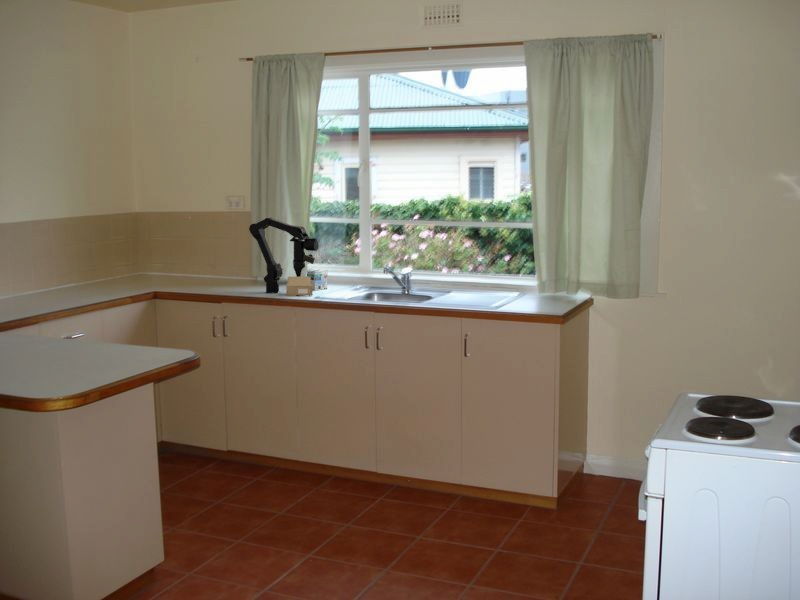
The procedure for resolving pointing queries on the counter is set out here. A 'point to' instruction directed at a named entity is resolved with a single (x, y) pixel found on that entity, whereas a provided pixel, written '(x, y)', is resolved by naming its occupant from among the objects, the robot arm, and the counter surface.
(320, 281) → the light bulb box
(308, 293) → the carton
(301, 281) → the flap near
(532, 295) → the counter surface
